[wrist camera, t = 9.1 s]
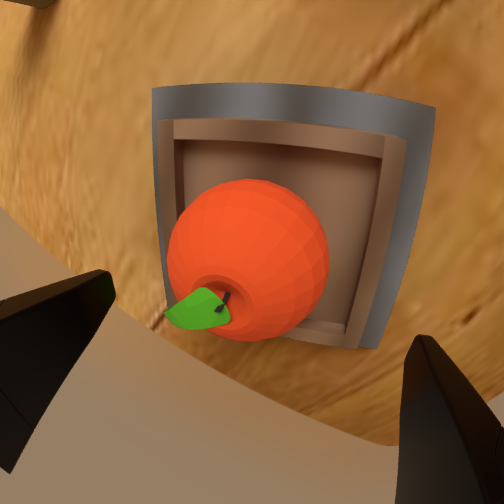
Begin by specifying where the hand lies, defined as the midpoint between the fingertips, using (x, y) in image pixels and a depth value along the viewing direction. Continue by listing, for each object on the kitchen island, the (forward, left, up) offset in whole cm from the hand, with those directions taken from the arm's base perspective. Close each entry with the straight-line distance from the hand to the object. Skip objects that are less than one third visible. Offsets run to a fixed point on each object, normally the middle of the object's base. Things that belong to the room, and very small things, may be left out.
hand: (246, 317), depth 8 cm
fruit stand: (+1, +2, -12) cm, 12 cm away
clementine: (+2, +2, -9) cm, 9 cm away
